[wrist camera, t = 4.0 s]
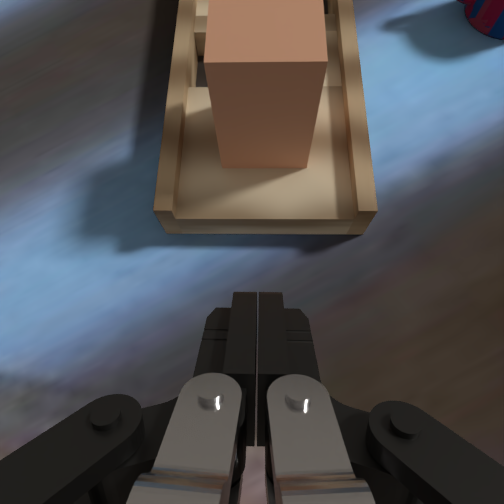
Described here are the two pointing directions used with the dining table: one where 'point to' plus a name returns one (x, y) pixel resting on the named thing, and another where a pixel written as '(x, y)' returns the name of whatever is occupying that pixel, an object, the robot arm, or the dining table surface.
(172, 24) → the dining table surface
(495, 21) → the mug
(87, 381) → the dining table surface
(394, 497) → the robot arm
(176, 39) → the tray
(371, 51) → the dining table surface
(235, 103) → the terracotta block
